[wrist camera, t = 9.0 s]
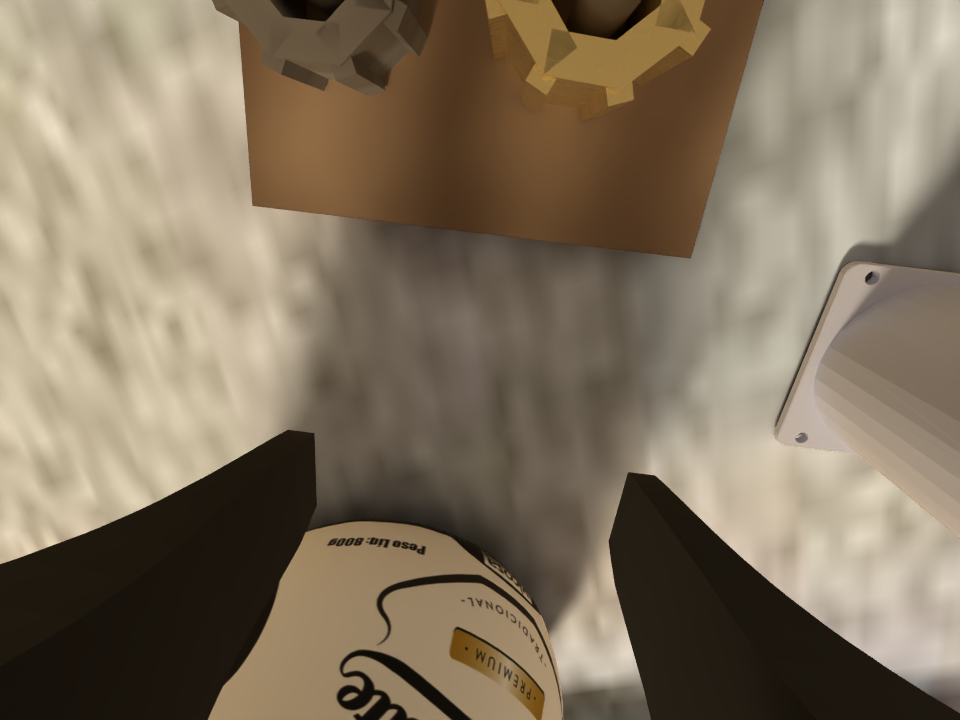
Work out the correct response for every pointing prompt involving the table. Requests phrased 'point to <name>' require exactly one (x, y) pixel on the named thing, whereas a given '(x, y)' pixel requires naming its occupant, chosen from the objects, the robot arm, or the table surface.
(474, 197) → the gear board
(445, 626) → the milk container
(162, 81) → the table surface
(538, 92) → the brass gear
